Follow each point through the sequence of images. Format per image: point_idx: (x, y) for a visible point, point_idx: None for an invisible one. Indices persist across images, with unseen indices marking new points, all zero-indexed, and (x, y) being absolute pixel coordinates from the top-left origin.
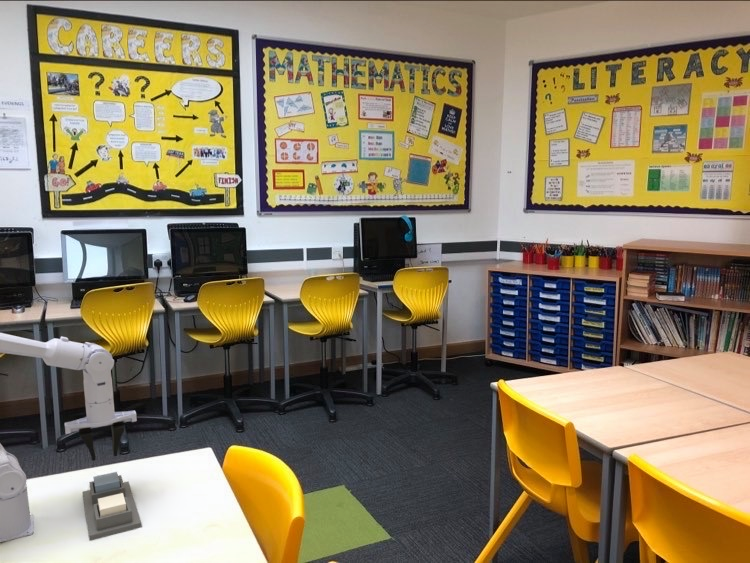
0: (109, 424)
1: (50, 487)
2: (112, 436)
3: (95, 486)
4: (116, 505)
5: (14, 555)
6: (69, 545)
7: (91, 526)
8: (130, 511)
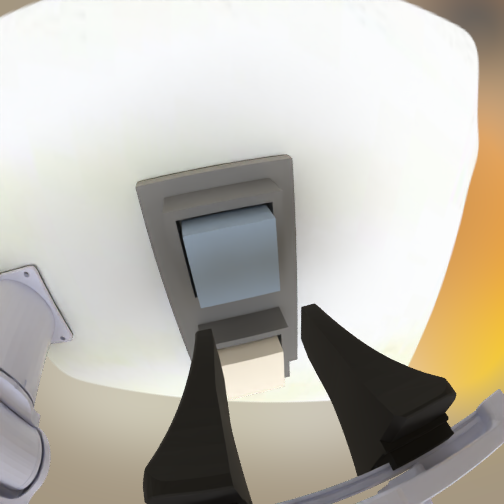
0: (365, 480)
1: (25, 90)
2: (345, 372)
3: (201, 307)
4: (264, 390)
5: (75, 377)
6: (163, 376)
7: None
8: (287, 376)
